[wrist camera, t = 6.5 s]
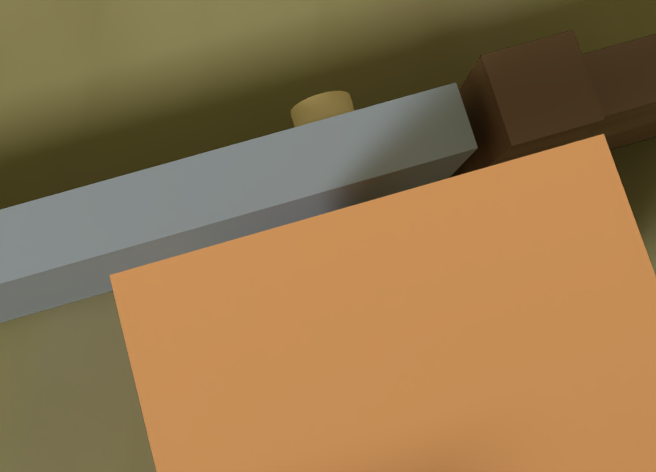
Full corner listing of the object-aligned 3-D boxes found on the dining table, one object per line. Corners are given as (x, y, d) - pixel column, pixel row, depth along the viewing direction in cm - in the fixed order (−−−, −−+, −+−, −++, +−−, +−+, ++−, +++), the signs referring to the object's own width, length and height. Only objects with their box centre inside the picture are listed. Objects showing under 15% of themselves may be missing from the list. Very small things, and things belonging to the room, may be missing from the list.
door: (425, 201, 18) (481, 144, 12) (-240, 392, 17) (-573, 443, 11) (401, 123, 19) (441, 25, 12) (-254, 307, 18) (-586, 307, 11)
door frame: (673, 139, 19) (877, 41, 12) (-506, 478, 17) (-1066, 595, 10) (652, 83, 19) (841, -46, 12) (-514, 413, 18) (-1065, 484, 11)
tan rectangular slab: (480, 468, 15) (871, 869, 4) (318, 518, 15) (300, 1067, 4) (414, 254, 16) (604, 133, 5) (259, 299, 16) (109, 275, 5)
